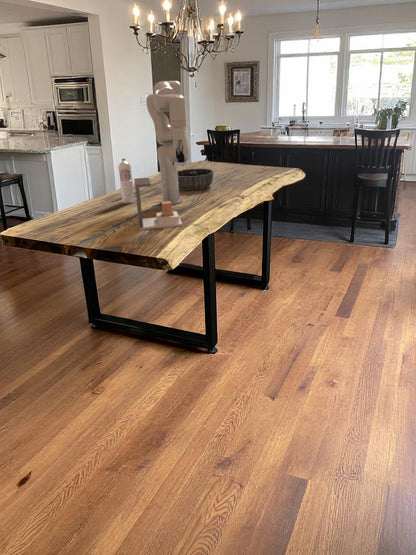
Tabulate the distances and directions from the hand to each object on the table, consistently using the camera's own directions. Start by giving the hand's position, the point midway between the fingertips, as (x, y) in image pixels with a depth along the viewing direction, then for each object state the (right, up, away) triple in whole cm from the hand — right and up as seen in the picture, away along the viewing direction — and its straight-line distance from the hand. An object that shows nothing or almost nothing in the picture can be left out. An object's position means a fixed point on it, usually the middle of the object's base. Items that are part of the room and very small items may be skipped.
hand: (180, 160), depth 227 cm
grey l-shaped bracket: (-16, -30, -1) cm, 35 cm away
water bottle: (-32, -14, +42) cm, 55 cm away
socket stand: (-10, -31, 0) cm, 32 cm away
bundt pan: (+4, 0, +71) cm, 71 cm away
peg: (-6, -29, 0) cm, 30 cm away
